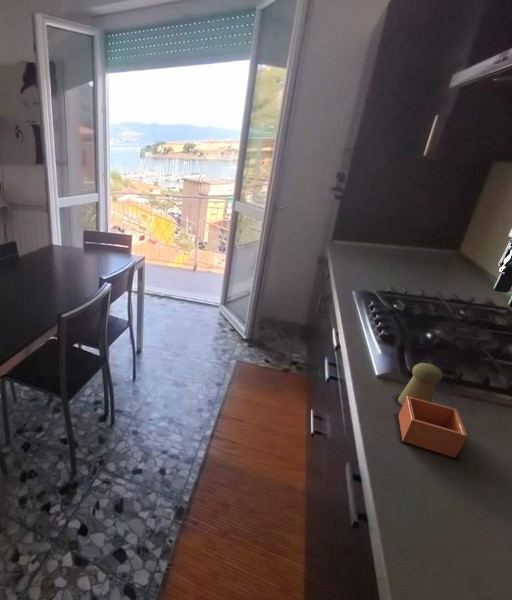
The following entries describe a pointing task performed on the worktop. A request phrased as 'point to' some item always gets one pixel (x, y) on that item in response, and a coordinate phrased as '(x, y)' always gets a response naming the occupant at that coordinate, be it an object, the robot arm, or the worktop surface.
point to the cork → (422, 383)
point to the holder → (431, 426)
